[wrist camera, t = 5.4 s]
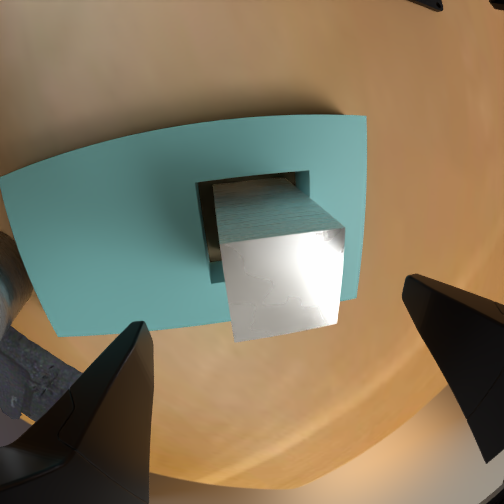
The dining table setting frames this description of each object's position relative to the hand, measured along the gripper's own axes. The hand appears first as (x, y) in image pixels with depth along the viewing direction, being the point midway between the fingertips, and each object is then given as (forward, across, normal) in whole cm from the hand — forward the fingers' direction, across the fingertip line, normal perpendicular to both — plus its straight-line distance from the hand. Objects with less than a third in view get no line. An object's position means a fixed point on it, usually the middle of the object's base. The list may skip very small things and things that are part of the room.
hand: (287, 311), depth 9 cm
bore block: (+9, +4, 0) cm, 10 cm away
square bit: (+9, 0, 0) cm, 9 cm away
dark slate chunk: (+10, +25, +13) cm, 30 cm away
